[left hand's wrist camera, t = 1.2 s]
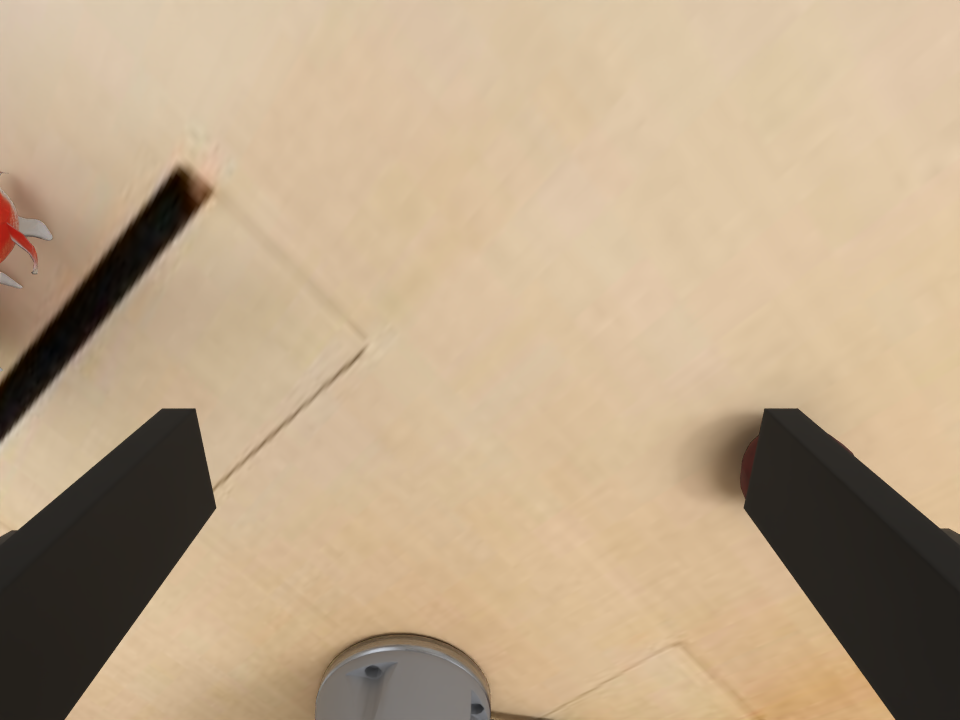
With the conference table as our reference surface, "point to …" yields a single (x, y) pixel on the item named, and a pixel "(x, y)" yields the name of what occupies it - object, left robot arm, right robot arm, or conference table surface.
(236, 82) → the conference table surface
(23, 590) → the left robot arm
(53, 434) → the conference table surface
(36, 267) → the fish
